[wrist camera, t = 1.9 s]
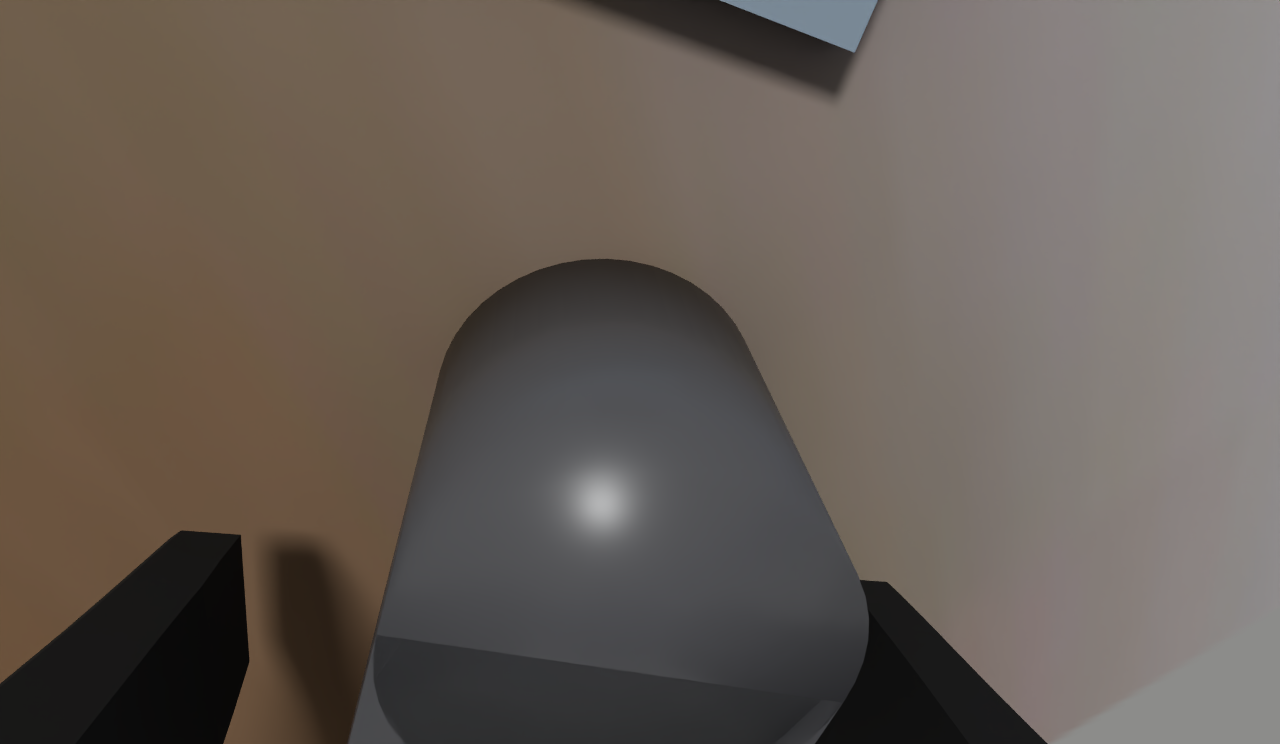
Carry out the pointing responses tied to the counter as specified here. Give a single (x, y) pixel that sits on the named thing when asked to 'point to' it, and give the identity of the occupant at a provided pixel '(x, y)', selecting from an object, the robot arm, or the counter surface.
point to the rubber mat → (817, 17)
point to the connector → (609, 535)
